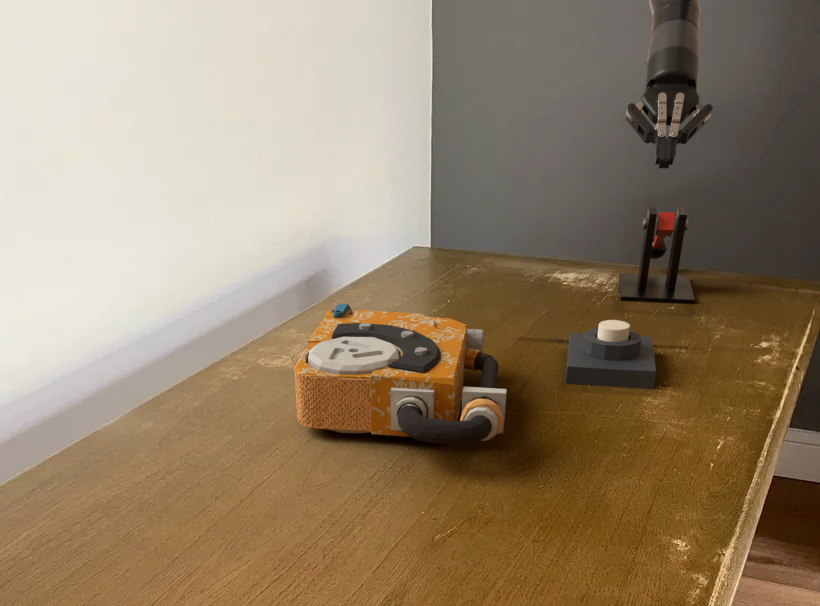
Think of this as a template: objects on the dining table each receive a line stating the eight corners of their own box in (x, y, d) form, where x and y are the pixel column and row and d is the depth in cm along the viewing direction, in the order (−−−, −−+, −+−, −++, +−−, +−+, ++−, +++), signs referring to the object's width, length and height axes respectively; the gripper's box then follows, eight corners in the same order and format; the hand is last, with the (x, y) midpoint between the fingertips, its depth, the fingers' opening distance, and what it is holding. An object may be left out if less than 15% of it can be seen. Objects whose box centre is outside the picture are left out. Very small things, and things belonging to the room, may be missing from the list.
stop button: (597, 333, 115) (598, 318, 114) (627, 334, 115) (629, 320, 114) (597, 343, 112) (598, 328, 111) (628, 345, 112) (630, 330, 111)
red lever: (642, 261, 146) (644, 239, 146) (664, 262, 146) (666, 240, 146) (653, 232, 133) (656, 208, 132) (677, 233, 132) (679, 209, 132)
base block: (567, 349, 121) (571, 318, 119) (649, 353, 120) (654, 322, 117) (565, 384, 112) (568, 351, 109) (653, 389, 110) (659, 355, 108)
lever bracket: (618, 283, 145) (629, 200, 138) (686, 285, 143) (700, 202, 137) (619, 307, 135) (631, 219, 129) (693, 310, 134) (708, 221, 127)
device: (517, 300, 111) (504, 398, 87) (511, 368, 116) (498, 480, 92) (326, 293, 115) (262, 385, 90) (329, 359, 119) (269, 465, 95)
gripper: (630, 44, 142) (621, 147, 139) (723, 44, 140) (715, 149, 137) (625, 80, 150) (616, 179, 147) (712, 81, 148) (705, 181, 145)
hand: (664, 164), depth 142 cm, fingers closed
